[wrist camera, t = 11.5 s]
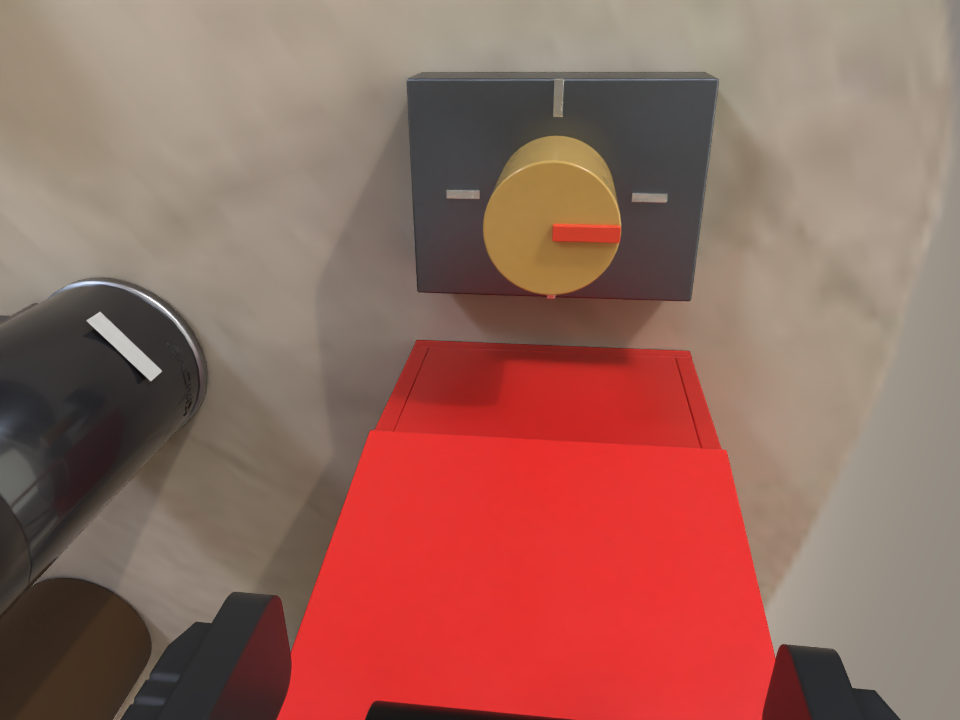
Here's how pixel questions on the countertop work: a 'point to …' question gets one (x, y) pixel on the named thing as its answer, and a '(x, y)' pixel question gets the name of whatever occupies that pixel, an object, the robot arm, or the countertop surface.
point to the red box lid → (534, 587)
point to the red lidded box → (551, 394)
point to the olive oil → (69, 652)
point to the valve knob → (553, 217)
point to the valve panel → (572, 113)
